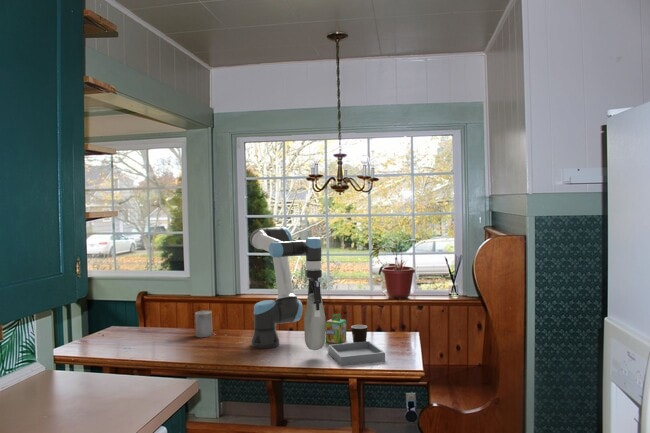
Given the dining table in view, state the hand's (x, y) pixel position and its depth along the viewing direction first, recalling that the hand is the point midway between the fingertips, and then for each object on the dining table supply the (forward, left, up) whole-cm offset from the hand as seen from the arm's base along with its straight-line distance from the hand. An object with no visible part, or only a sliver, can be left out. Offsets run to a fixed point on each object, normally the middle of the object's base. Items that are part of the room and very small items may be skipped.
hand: (314, 314), depth 259 cm
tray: (+5, +19, -21) cm, 29 cm away
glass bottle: (0, 0, -18) cm, 18 cm away
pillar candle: (-65, -51, -22) cm, 85 cm away
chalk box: (-26, +18, -22) cm, 38 cm away
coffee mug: (-15, +28, -21) cm, 38 cm away
